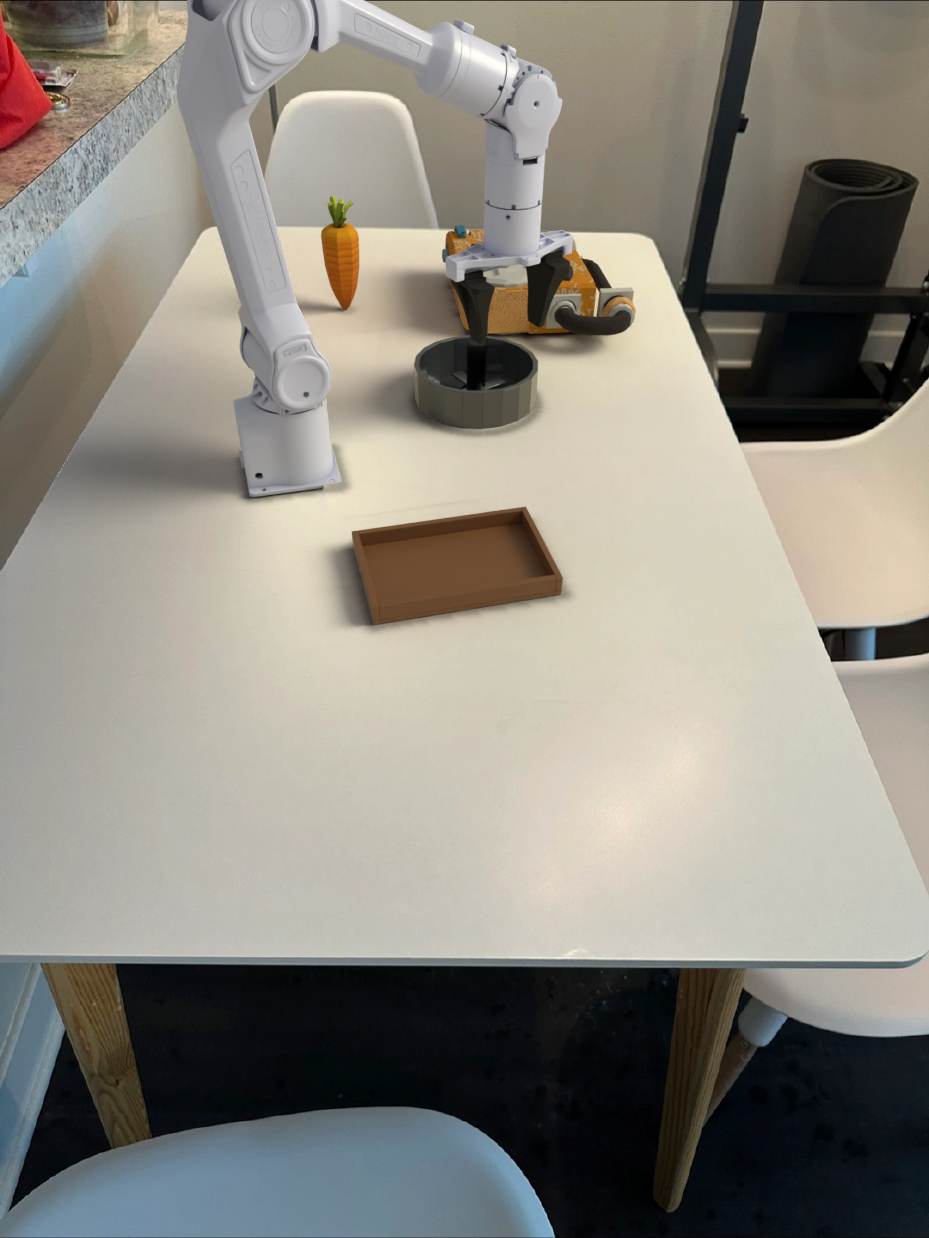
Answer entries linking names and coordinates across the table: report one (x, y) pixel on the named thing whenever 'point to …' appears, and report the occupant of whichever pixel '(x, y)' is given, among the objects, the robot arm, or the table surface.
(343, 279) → the carrot
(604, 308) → the device
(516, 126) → the robot arm
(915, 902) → the table surface
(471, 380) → the blade
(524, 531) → the tray
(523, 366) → the processor bowl
